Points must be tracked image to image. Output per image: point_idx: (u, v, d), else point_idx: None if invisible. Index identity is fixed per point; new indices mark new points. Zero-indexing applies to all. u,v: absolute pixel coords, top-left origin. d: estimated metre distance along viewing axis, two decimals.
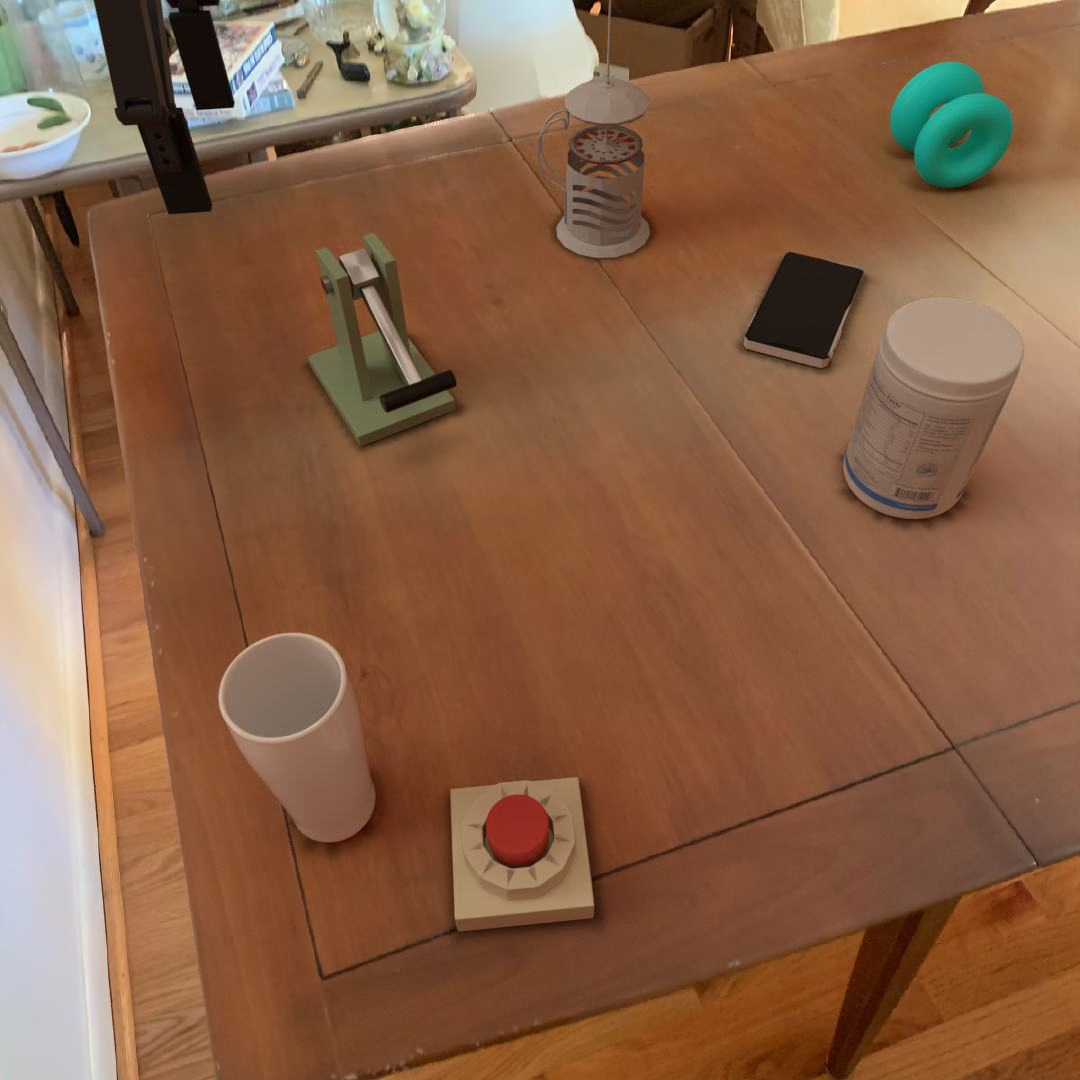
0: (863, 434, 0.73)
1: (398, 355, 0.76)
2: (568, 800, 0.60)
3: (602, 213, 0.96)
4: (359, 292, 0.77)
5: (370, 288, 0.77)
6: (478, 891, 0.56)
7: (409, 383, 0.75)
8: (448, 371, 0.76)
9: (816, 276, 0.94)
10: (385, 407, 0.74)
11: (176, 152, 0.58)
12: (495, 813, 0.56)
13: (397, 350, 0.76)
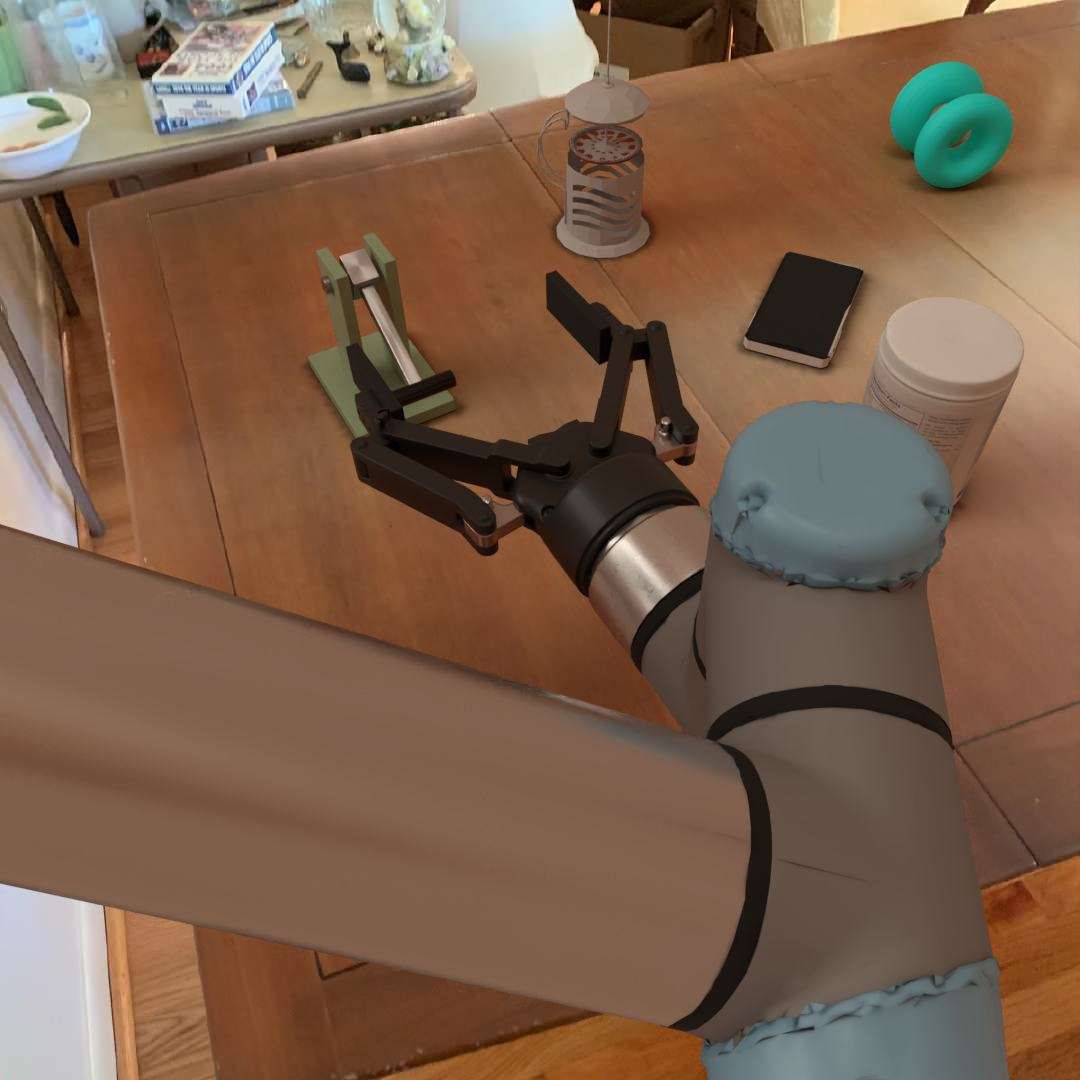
0: None
1: (398, 355, 0.76)
2: None
3: (602, 213, 0.96)
4: (359, 292, 0.77)
5: (370, 288, 0.77)
6: None
7: (409, 383, 0.75)
8: (448, 371, 0.76)
9: (816, 276, 0.94)
10: None
11: None
12: None
13: (397, 350, 0.76)
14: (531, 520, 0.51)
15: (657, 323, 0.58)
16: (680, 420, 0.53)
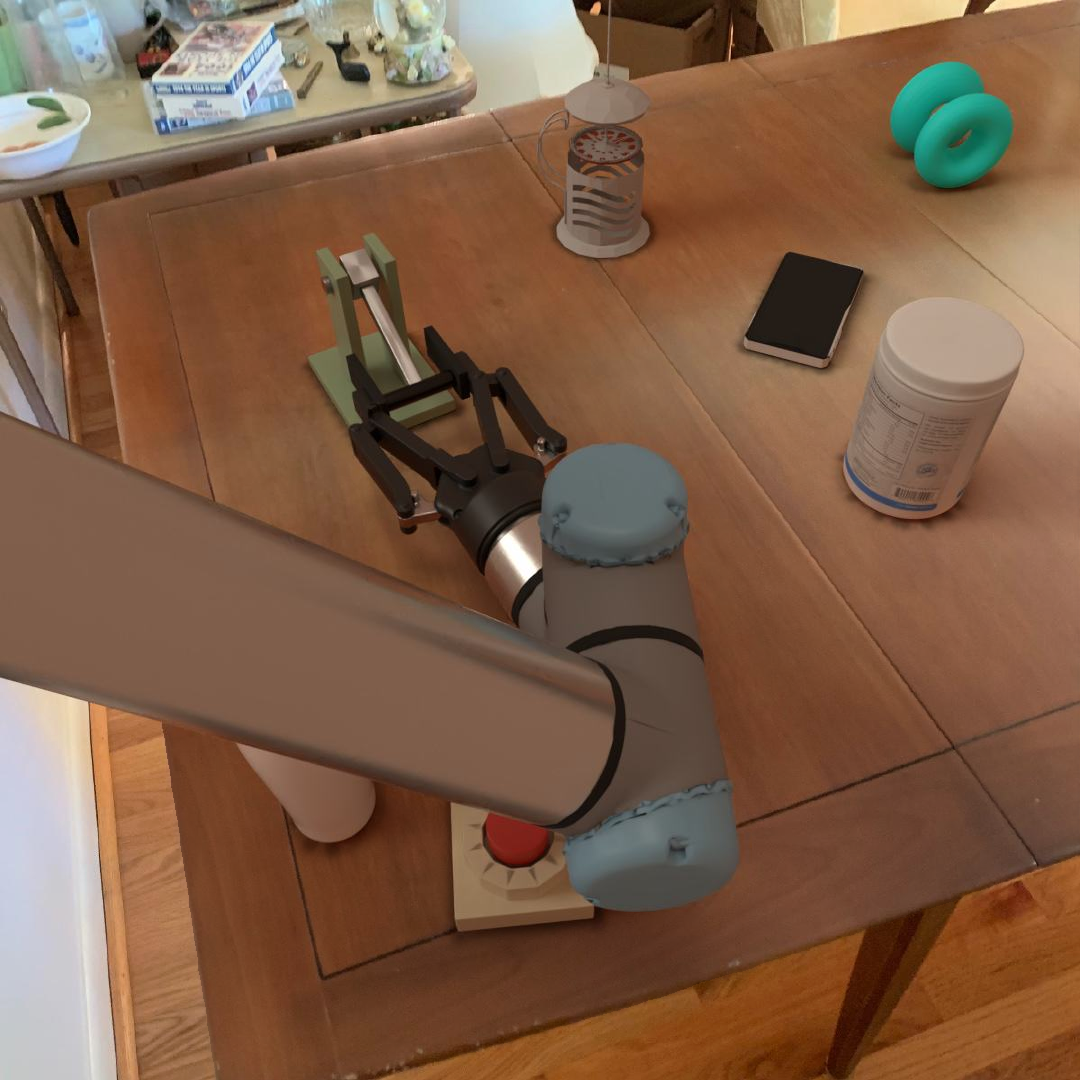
0: (863, 434, 0.73)
1: (398, 355, 0.76)
2: None
3: (602, 213, 0.96)
4: (359, 292, 0.77)
5: (370, 288, 0.77)
6: (478, 891, 0.56)
7: (409, 383, 0.75)
8: (448, 371, 0.76)
9: (816, 276, 0.94)
10: None
11: (360, 415, 0.75)
12: None
13: (397, 350, 0.76)
14: (448, 520, 0.68)
15: (503, 369, 0.75)
16: (551, 437, 0.70)
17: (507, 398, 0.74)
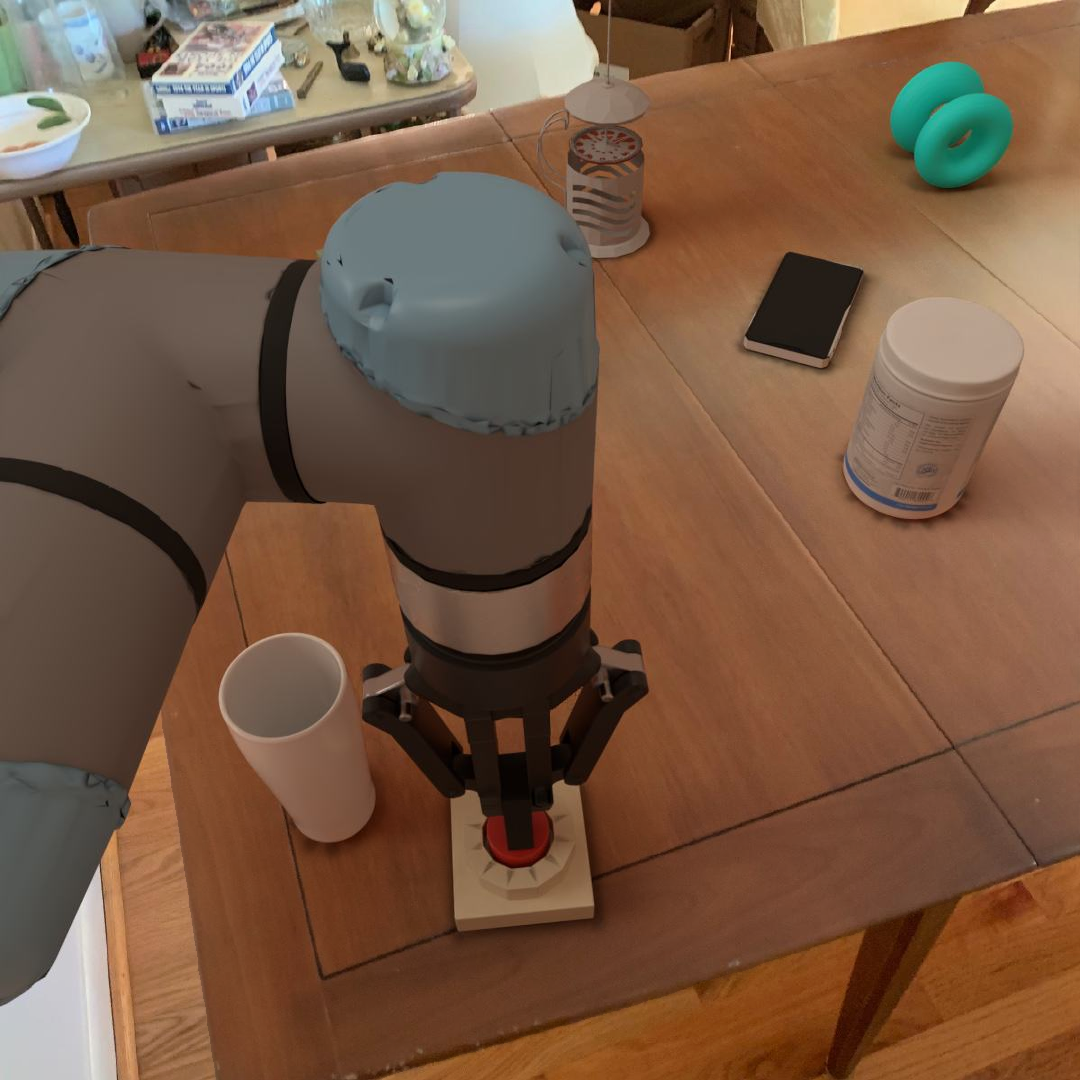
0: (863, 434, 0.73)
1: None
2: (568, 800, 0.60)
3: (602, 213, 0.96)
4: None
5: None
6: (478, 891, 0.56)
7: None
8: None
9: (816, 276, 0.94)
10: None
11: None
12: (496, 818, 0.56)
13: None
14: None
15: (452, 796, 0.49)
16: (387, 721, 0.43)
17: (450, 759, 0.48)
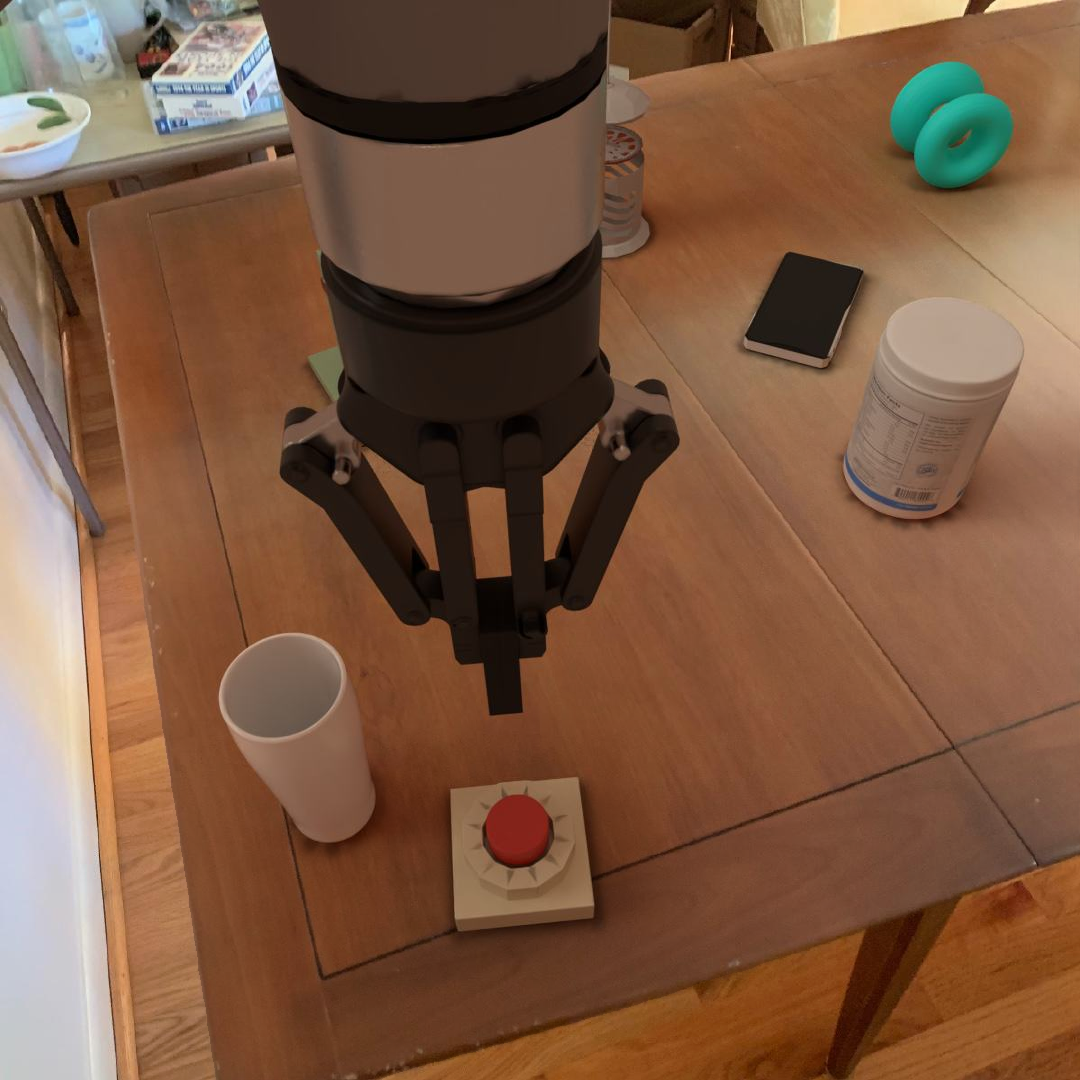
0: (863, 434, 0.73)
1: None
2: (568, 800, 0.60)
3: None
4: None
5: None
6: (478, 891, 0.56)
7: None
8: None
9: (816, 276, 0.94)
10: None
11: None
12: (495, 813, 0.56)
13: None
14: None
15: (413, 622, 0.37)
16: (316, 482, 0.31)
17: (409, 565, 0.36)
